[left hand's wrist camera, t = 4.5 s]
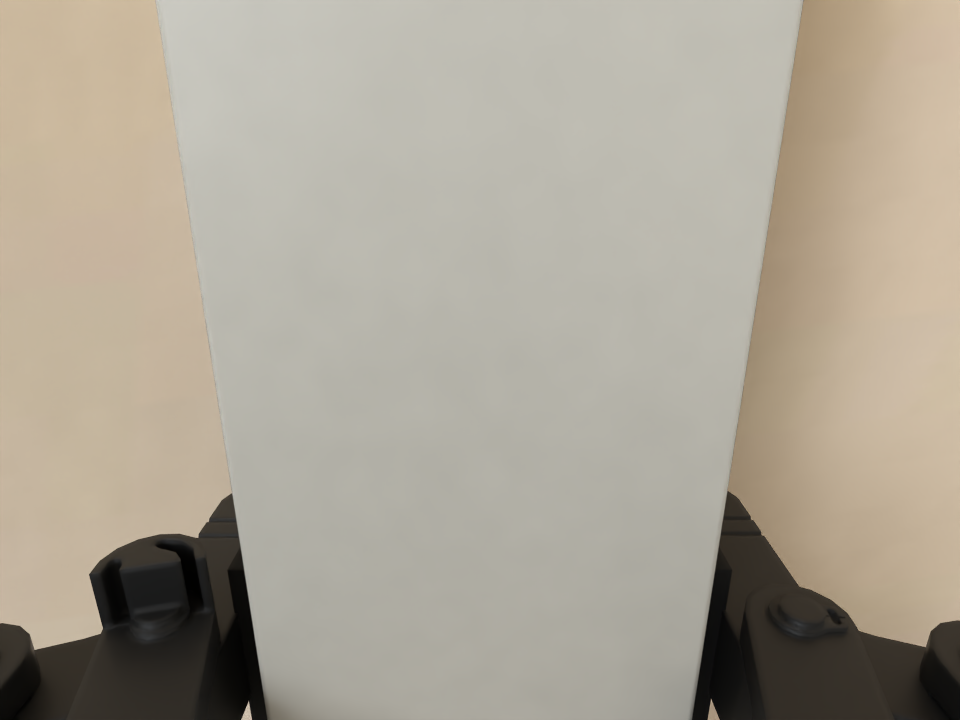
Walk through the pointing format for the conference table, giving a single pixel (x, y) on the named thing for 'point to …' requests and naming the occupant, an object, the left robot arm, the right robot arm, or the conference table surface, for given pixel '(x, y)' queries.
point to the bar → (479, 334)
